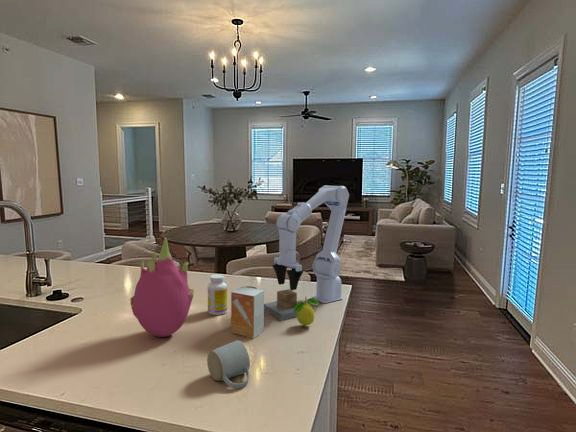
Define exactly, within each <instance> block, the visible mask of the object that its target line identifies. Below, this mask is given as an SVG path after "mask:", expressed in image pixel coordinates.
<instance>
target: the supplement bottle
mask: <svg viewBox="0 0 576 432" xmlns="http://www.w3.org/2000/svg"><path fill="white" fill-rule="evenodd" d="M209 278H210V279H209V280H210V282H209V283H208V284H207V313H208V314H210V315H213V316H221V315H224V314H226V313H227V312H228V284H227V283H226V282H224V280H225V276H224V275H223V274H212V275H210V277H209Z"/></svg>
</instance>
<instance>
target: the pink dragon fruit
mask: <svg viewBox="0 0 576 432" xmlns="http://www.w3.org/2000/svg"><path fill="white" fill-rule="evenodd" d="M157 257H158V258H157ZM174 262H175V261H174V259H173V257H172V255H171V252H170V249H169V243H168V238H167V237H166V236H165V237H163V243H162V246H161V250H160V251H159V255H158V256H157V252H156V250H154V252H153V253H152V256H151V260H150V261H148V263H147V265H146V269H145V268H144V267H145V265H144V260H142V261H141V264H140V277H139V279H138V281H137V283H136V285H135V290H134V293H133V296H132V297H130V299H129V300H130V306H131V310H132V311H131V312H132V314H133V316H134V317H135V318H136V320H137V322H138V323H139V325H140V326H141V327H142V328H143V330H144V331H145V332H147V333H148V334H150V335H152V336H154V337H158V338H163V337H169V336H171V335H173V334H175V333H176V332H177V331H179V330H180V328H182V326H183V325H184V323H185V321H186V320H187V317H188V314H189V312H190V308H191V304H192V302H193V299H194V295H195V293H194V291H195V290H194V288H190V286H189V283H188V265H189V264H190V262H189V261H185V262H184V263H183V265H182V268H181V269H180V268H179V267H177V265H176V264H175V263H174Z"/></svg>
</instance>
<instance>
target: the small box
mask: <svg viewBox="0 0 576 432" xmlns="http://www.w3.org/2000/svg"><path fill="white" fill-rule="evenodd" d="M230 296H231V297H230V303H231V305H230V313H231V314H230V333H231V334H236V335H239V336H243V337H247V338H251V339H255V338H256V337H257V336H258V335H260V334H261V333H262V332H264V328H265V325H264V324H265V321H264V320H265V316H264V315H265V313H264V312H265V310H264V304H265V290H264V289H259V288H257V289H254V288H247V287H245V286H240V287H238V288H236V289H235V290H233V291H231V294H230Z"/></svg>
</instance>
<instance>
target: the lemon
mask: <svg viewBox="0 0 576 432" xmlns="http://www.w3.org/2000/svg"><path fill="white" fill-rule="evenodd" d="M307 301H308V302H309V303H310V304H309V303H307ZM298 302H299V303H297V304H296V306H295V307H294V312H296V311H297V317H296V319H297V321H298V323H299V324H300V325H301V326H303V327H307V326H309V325H311V324H312V323H314V320H315V311H314V309H313V306H312V305H314V306H318V305H319V301H318V300H316V299H314V298H312V297H310V298H307V297H305V300H304V301H298Z"/></svg>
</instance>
